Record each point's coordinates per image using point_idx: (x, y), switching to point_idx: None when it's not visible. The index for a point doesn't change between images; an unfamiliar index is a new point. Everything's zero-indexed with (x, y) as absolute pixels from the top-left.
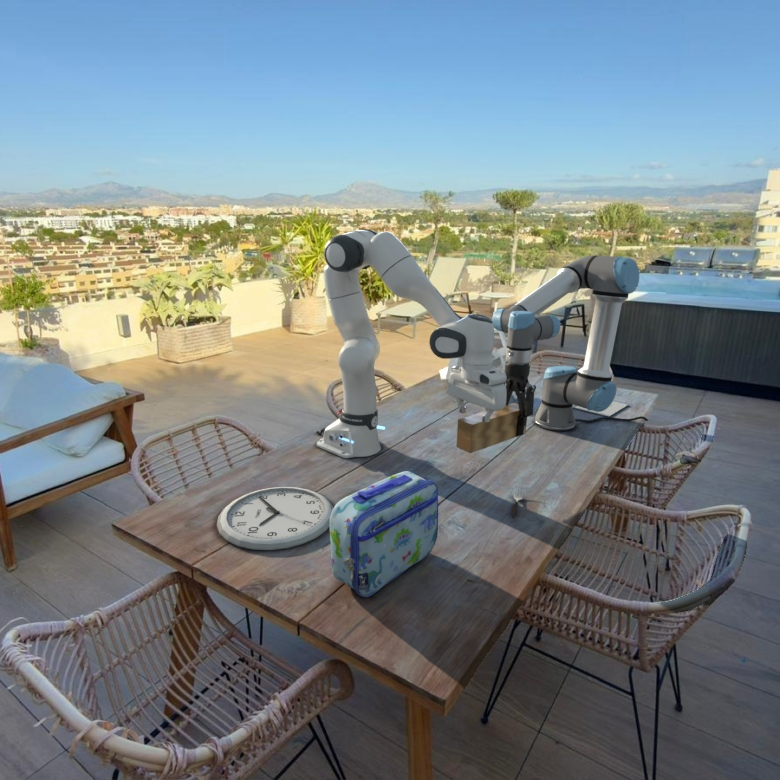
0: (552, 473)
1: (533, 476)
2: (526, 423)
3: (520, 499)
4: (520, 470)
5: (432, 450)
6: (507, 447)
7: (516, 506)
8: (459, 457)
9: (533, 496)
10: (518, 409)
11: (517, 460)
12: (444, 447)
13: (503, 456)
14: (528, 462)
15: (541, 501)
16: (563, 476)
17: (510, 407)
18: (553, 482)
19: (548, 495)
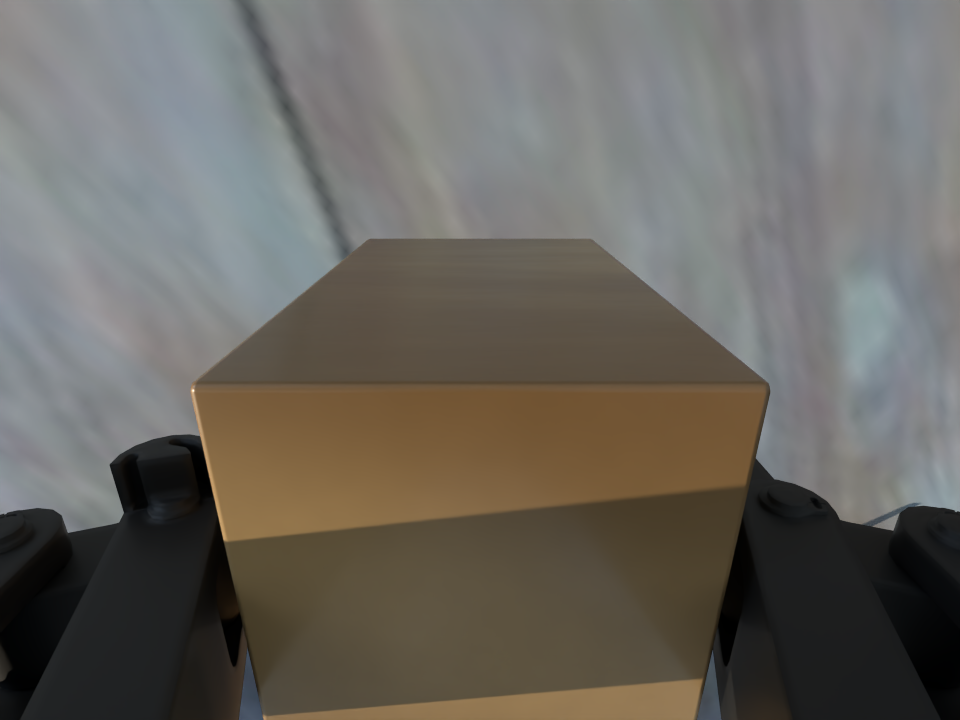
0: (794, 166)
1: (715, 315)
2: (628, 270)
3: None
4: None
5: (83, 523)
6: (267, 45)
7: None
8: None
9: (829, 500)
10: (662, 681)
11: (494, 197)
12: (67, 442)
13: (384, 228)
14: (569, 155)
15: (884, 508)
16: (878, 140)
17: (447, 711)
18: (854, 281)
19: (891, 435)
